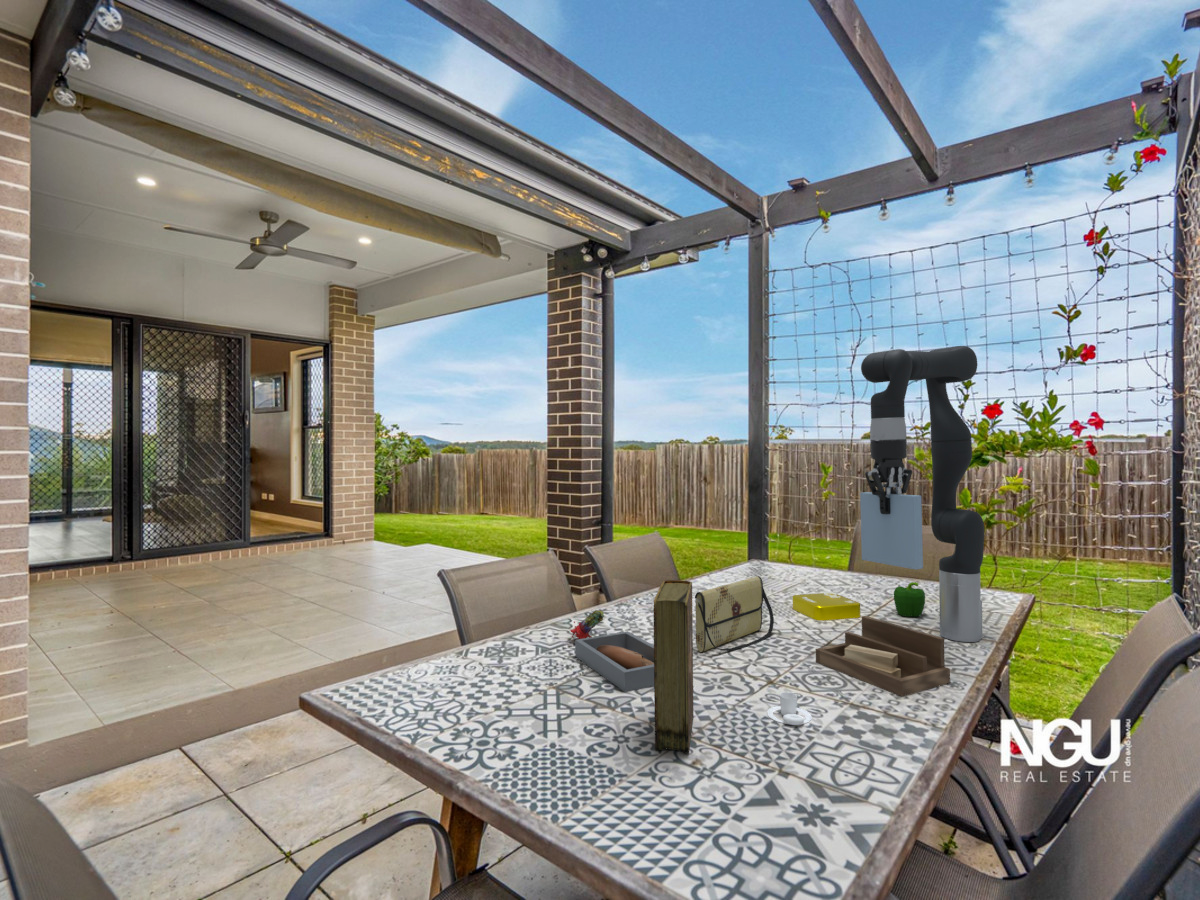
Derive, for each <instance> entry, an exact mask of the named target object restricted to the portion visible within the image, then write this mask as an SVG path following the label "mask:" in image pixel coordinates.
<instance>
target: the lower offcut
mask: <svg viewBox="0 0 1200 900" xmlns="http://www.w3.org/2000/svg"><path fill="white" fill-rule="evenodd" d="M842 657H844V658H845V656H842ZM860 664H862V663H860ZM863 665H866V664H863ZM866 666H869V667H871V668H874V669H877V670H879V671H882V672H885V673H887V674H890V675H893V676H895V677H898V678H901V669H899V668H895V669H893V670H889V669H884V668H880V667H875V666H871V665H866Z"/></svg>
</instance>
